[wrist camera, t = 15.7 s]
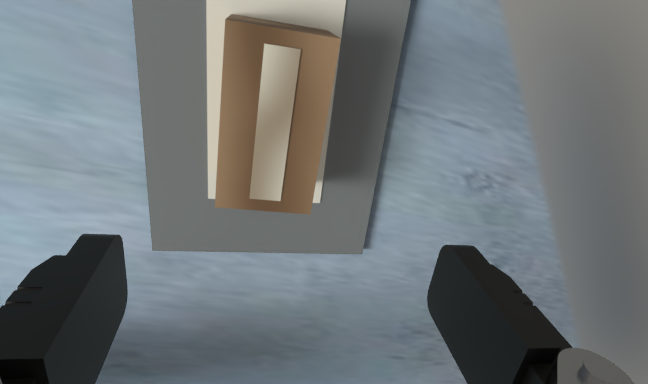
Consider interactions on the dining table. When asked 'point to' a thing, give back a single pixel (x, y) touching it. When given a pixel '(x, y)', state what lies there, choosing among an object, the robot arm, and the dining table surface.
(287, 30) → the card box
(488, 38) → the dining table surface
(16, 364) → the robot arm
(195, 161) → the mat
